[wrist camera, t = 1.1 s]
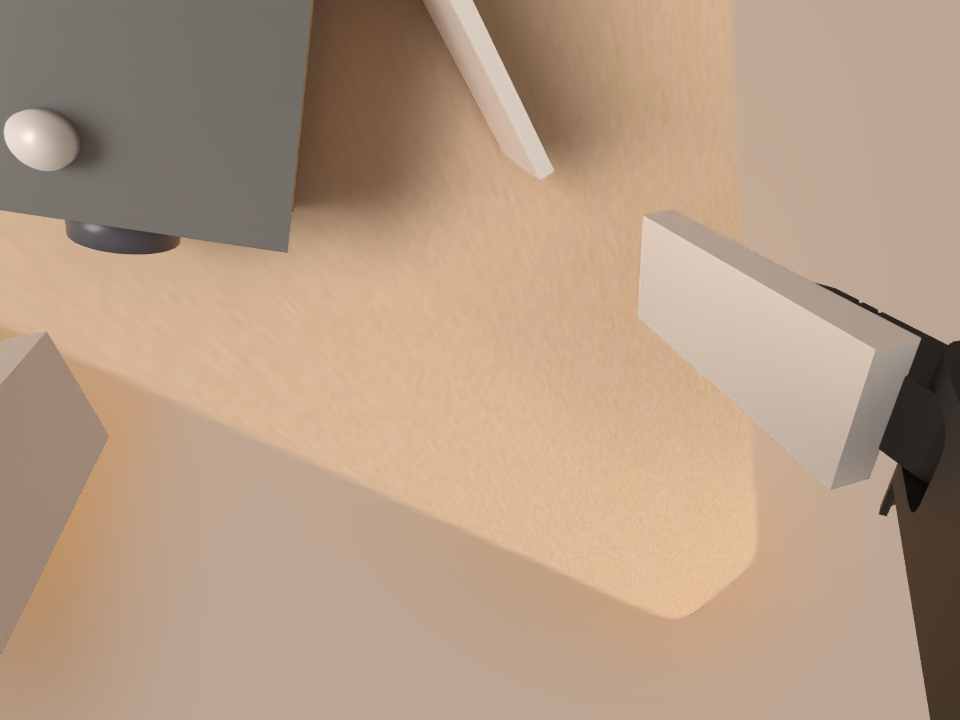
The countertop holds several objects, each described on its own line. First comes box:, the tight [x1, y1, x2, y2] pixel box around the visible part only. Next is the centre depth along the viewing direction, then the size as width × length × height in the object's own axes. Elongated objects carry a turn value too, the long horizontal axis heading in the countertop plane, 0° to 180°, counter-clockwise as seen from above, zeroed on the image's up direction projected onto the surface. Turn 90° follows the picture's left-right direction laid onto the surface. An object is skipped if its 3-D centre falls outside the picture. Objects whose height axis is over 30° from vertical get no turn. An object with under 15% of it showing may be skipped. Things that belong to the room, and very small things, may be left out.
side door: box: [422, 0, 554, 180], centre depth 25 cm, size 15×1×6 cm, turn 30°
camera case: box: [0, 0, 314, 254], centre depth 22 cm, size 18×11×8 cm, turn 165°
